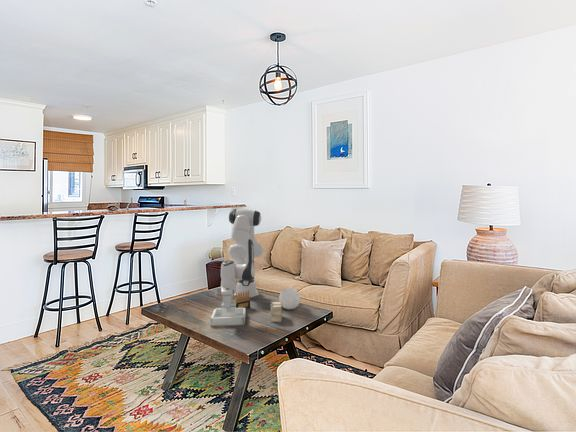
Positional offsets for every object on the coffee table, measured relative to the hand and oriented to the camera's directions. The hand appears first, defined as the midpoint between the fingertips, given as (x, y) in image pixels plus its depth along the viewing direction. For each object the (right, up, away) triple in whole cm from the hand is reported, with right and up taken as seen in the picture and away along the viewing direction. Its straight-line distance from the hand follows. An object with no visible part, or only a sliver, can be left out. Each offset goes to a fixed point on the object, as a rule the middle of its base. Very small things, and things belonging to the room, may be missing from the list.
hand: (228, 310), depth 210 cm
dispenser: (+28, -6, +2) cm, 29 cm away
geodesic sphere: (+37, -4, +21) cm, 42 cm away
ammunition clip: (+6, -5, +21) cm, 22 cm away
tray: (0, -6, 0) cm, 6 cm away
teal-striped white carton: (0, -3, 0) cm, 3 cm away
